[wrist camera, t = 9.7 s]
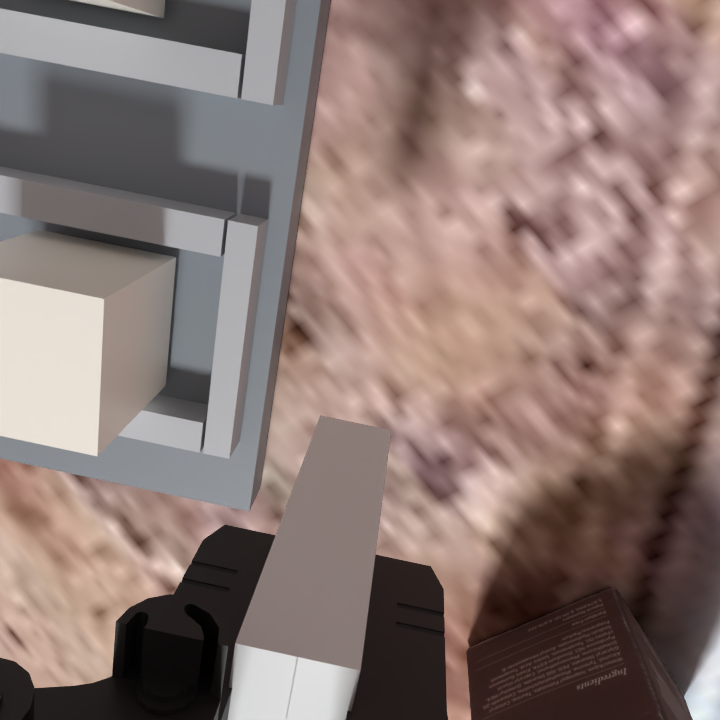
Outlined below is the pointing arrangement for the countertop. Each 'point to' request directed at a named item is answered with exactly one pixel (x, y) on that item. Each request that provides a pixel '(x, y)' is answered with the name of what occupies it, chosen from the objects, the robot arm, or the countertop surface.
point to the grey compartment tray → (171, 203)
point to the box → (574, 668)
